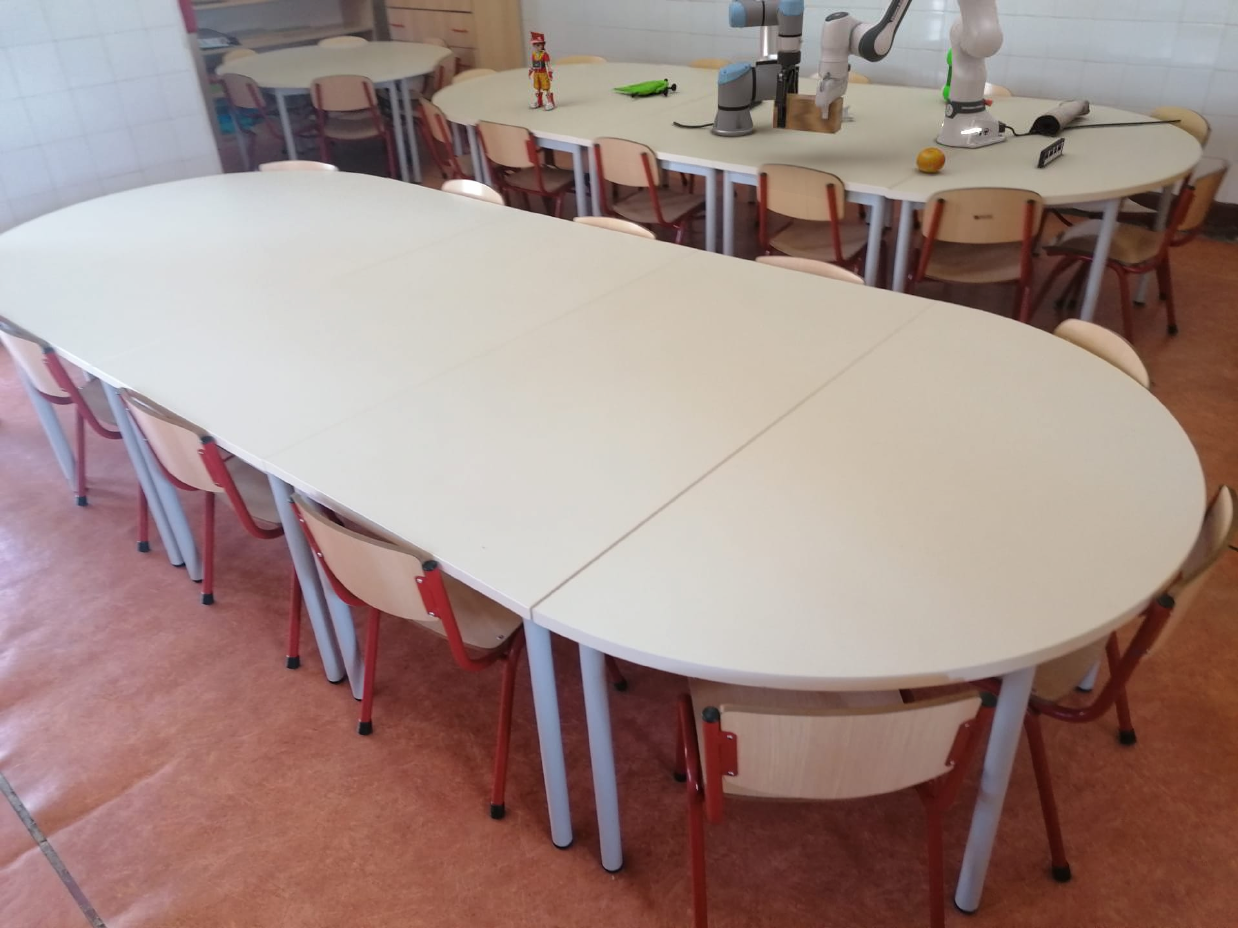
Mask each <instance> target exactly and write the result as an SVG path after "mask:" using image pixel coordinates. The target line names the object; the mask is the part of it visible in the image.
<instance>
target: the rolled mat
mask: <svg viewBox="0 0 1238 928" xmlns="http://www.w3.org/2000/svg"><path fill="white" fill-rule="evenodd" d="M1090 113H1091V110H1090V101H1089V100H1087V99H1073V100H1066V101H1063V102H1060V103H1059V105H1058V106H1057V107H1055V108H1052V109H1049V111H1047V112H1045V113H1043V114H1041V115H1040V116H1038V117H1036V119H1035V120H1034V121H1033V123H1032V125H1031V127H1030V129H1029V130H1028V133H1029V132H1033V131H1040V133H1041V134H1042V135H1045V136H1051V137H1054V136H1056V135H1058V134H1059V133H1061V131H1062V130H1064V129H1063V128H1064V127H1067V125H1068V124H1069V123H1071V122H1072V121H1073V120H1075V119H1076V118H1077V117H1082V116H1083V117H1084V116H1086V115H1089V114H1090Z"/></svg>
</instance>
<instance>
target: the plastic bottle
mask: <svg viewBox="0 0 1238 928" xmlns="http://www.w3.org/2000/svg"><path fill="white" fill-rule="evenodd" d="M946 63H947V64H948V69H947V70H948V71H947V76H946V77H947V78H946V84H945V85H944V87H943V90H942V97H943V99H944V100H945V101H946V102H947V98H948V97H949V91H950V84H951V77H952V47H951V48H950V49H949V50H948V52H947V54H946Z"/></svg>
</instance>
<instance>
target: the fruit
mask: <svg viewBox="0 0 1238 928" xmlns="http://www.w3.org/2000/svg"><path fill="white" fill-rule="evenodd" d="M945 163H946V155H945V153H944V151H943V150H941V149H940V148H937V147H928V148H924V149H922V150H921V151H920V152H918V155H917V157H916V166H917V168H918V169H919V170H920V171H921V172H924V173H931V174H932V173H937V172H939V171H941V169H942V168H943V167H944V166H945Z"/></svg>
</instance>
